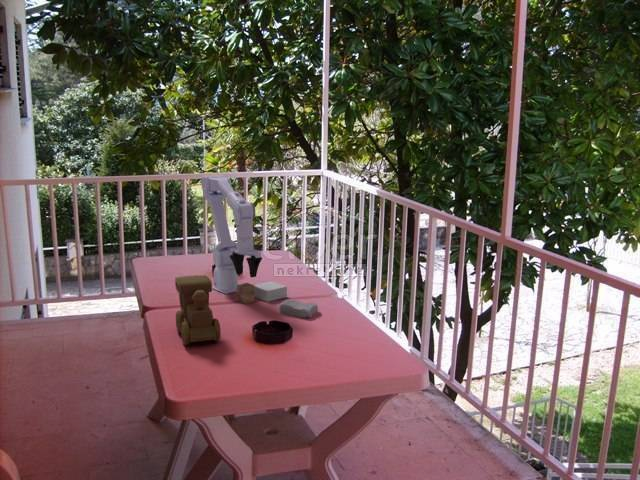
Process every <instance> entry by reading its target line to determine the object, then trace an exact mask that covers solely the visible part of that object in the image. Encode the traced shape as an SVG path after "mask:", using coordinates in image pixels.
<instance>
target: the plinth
mask: <svg viewBox="0 0 640 480" xmlns="http://www.w3.org/2000/svg"><path fill="white" fill-rule="evenodd" d="M254 285H255V298H257V299H260V300H262V301H263V302H266V303H267V302H268V303H269V302H272V301H276V300H279V299H285V298H288V286H287V285H284V284H282V283H281V284H280V283H278V282H275V281H271V280H270V281H266V282H262V283H257V284H254Z"/></svg>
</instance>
